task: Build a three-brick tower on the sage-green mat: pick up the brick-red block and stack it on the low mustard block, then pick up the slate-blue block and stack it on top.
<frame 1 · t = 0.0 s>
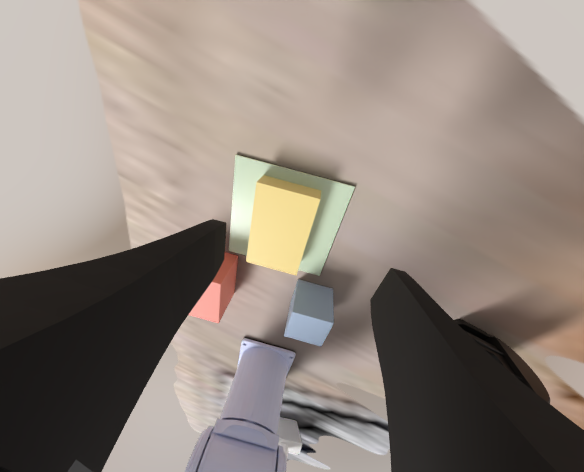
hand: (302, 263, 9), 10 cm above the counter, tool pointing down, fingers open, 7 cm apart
mustard brick: (283, 223, 20), resting on baseplate
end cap: (447, 346, 26), on the counter
red brick: (220, 270, 25), on the counter
blue brick: (310, 295, 24), on the counter
baseplate: (283, 222, 20), on the counter
figurine: (285, 421, 45), on the counter
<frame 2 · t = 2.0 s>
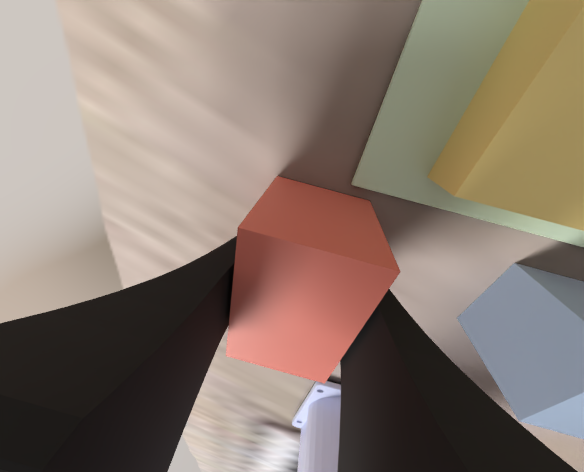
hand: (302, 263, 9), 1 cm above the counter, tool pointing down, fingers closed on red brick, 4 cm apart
red brick: (305, 245, 10), on the counter, touching gripper
blue brick: (521, 303, 10), on the counter
when the fingers open (4 cm above the counter, at t = 5.0 s): red brick stays where it is, resting on mustard brick.
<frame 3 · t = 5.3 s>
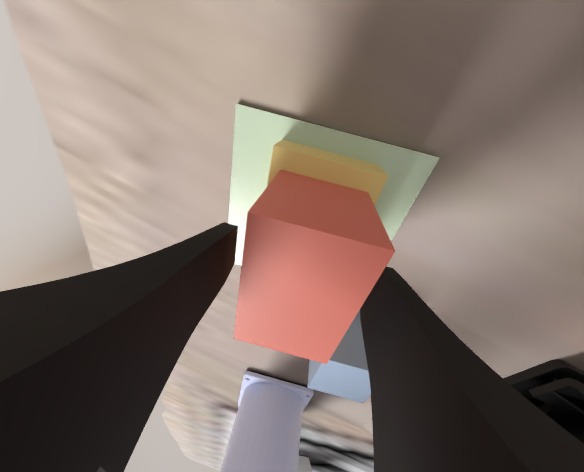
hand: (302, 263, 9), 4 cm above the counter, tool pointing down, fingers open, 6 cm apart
mustard brick: (309, 220, 13), resting on baseplate, touching red brick
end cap: (527, 391, 19), on the counter
red brick: (307, 236, 11), point 2 cm above the counter, touching mustard brick
blue brick: (341, 322, 17), on the counter
baseplate: (310, 219, 13), on the counter
figurine: (295, 456, 38), on the counter
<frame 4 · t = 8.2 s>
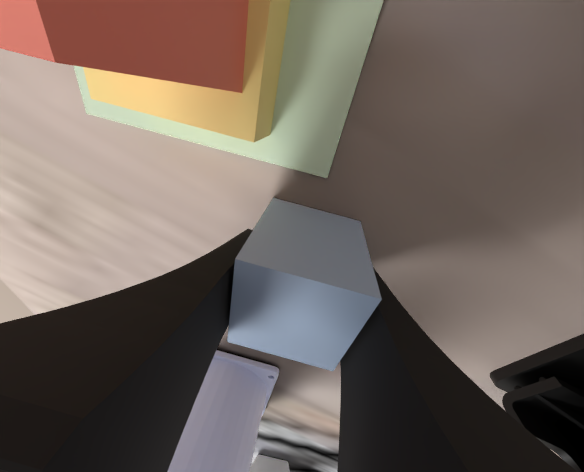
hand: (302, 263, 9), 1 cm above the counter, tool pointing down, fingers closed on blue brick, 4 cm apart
blue brick: (305, 245, 10), on the counter, touching gripper
figurine: (272, 460, 31), on the counter
when the fingers open (9 cm above the counter, at t = 11.0 s): blue brick stays where it is, resting on red brick.
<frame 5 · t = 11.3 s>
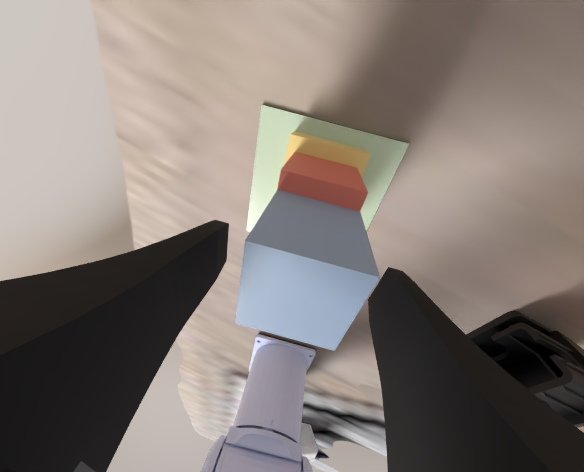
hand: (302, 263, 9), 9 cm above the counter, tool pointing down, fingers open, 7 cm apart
mustard brick: (314, 194, 16), resting on baseplate, touching red brick
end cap: (494, 343, 23), on the counter
red brick: (313, 203, 15), point 2 cm above the counter, touching blue brick, mustard brick
blue brick: (307, 235, 11), point 7 cm above the counter, touching red brick
baseplate: (314, 193, 17), on the counter
figurine: (298, 424, 42), on the counter
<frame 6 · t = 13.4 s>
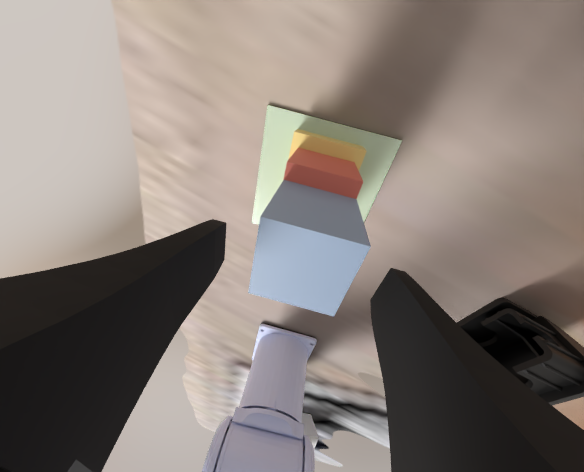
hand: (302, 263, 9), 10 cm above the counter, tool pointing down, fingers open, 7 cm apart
mustard brick: (315, 188, 18), resting on baseplate, touching red brick
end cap: (484, 330, 24), on the counter
red brick: (314, 195, 16), point 2 cm above the counter, touching blue brick, mustard brick
blue brick: (310, 221, 12), point 7 cm above the counter, touching red brick
baseplate: (315, 187, 18), on the counter
figurine: (299, 415, 43), on the counter
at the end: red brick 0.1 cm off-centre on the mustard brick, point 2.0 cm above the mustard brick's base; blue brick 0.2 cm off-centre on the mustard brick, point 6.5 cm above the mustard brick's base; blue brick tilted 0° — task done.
